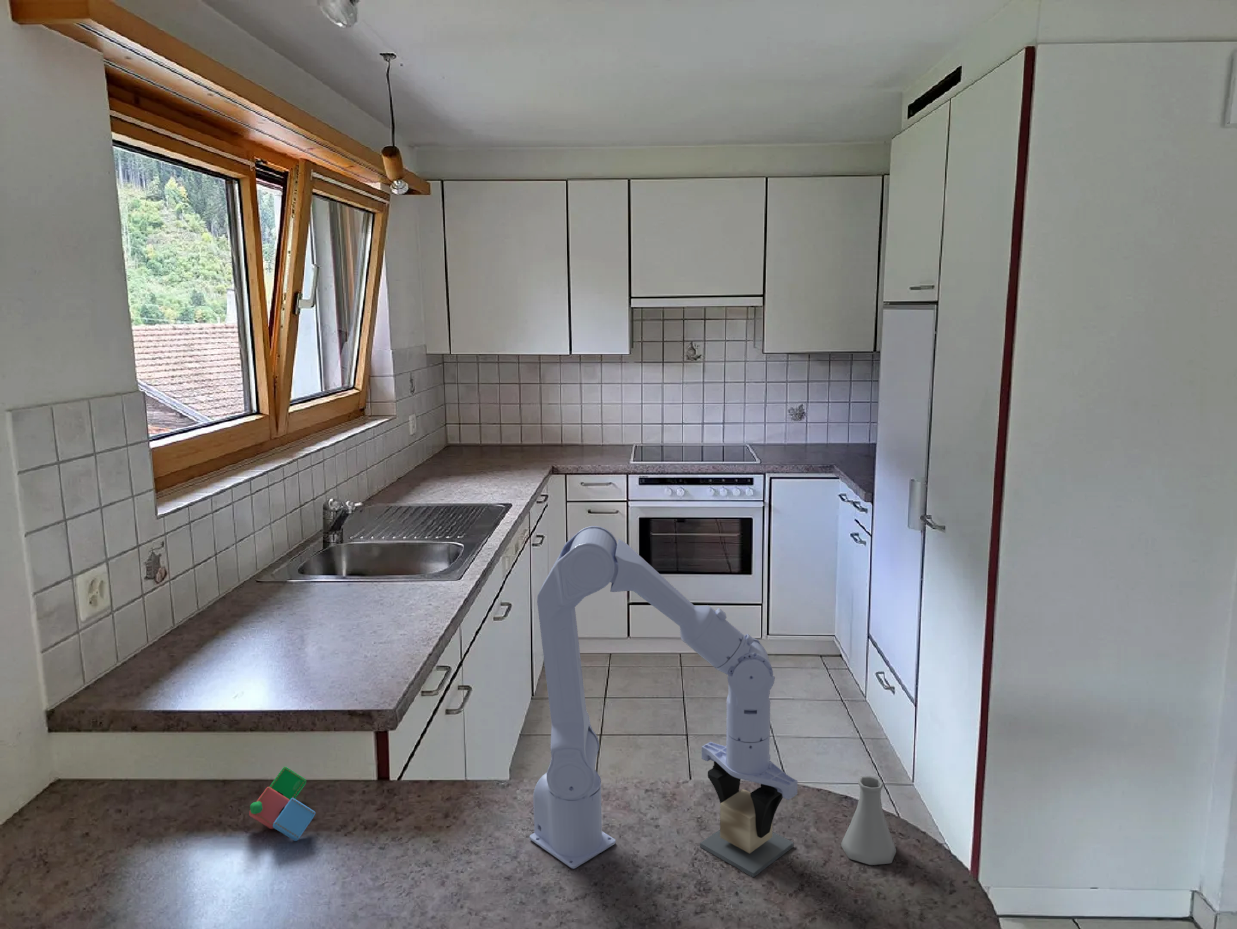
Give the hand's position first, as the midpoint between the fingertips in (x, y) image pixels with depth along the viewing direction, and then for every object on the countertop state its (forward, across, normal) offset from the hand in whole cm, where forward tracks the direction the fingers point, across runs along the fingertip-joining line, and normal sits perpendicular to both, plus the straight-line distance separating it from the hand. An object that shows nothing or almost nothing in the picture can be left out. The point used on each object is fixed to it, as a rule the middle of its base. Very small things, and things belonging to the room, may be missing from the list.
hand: (746, 825), depth 113 cm
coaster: (+3, 0, 0) cm, 3 cm away
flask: (+3, -12, -11) cm, 17 cm away
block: (+2, 0, 0) cm, 2 cm away
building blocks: (+3, +50, +42) cm, 65 cm away
